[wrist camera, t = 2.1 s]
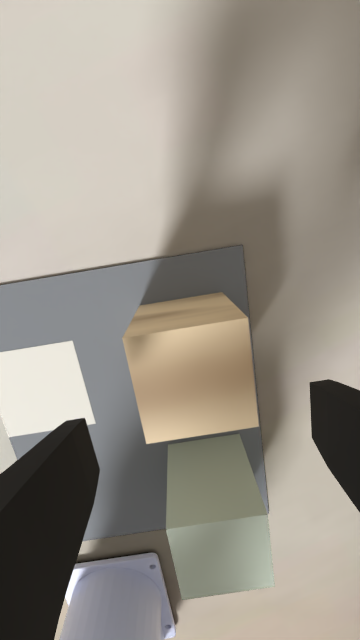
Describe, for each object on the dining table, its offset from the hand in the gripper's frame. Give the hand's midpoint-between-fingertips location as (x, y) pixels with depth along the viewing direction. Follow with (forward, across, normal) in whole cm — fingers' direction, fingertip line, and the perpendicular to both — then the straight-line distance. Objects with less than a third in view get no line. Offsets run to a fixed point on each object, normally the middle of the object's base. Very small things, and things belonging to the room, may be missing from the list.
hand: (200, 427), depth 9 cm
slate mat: (+9, +4, +5) cm, 11 cm away
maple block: (+9, 0, 0) cm, 9 cm away
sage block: (+9, 0, +10) cm, 13 cm away
